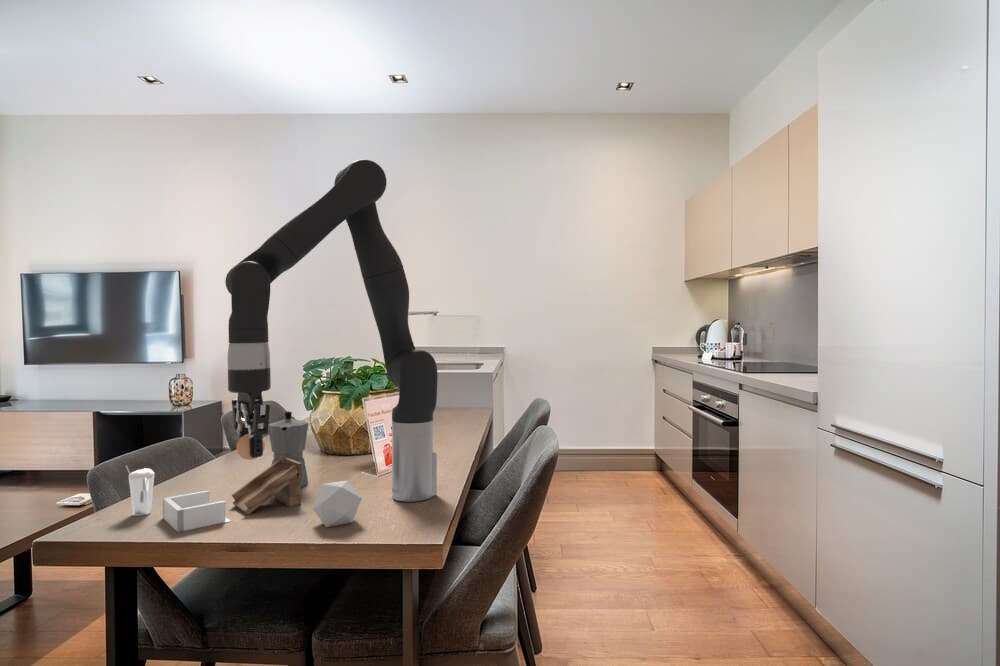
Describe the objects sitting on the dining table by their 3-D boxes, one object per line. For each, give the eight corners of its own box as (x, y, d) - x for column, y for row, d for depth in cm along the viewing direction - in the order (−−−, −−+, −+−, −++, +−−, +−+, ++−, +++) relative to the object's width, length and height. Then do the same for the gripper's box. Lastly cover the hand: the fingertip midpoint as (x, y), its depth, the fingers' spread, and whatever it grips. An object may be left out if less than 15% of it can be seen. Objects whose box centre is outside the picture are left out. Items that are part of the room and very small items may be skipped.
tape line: (212, 508, 121) (212, 507, 121) (231, 521, 113) (231, 520, 113) (206, 509, 121) (206, 508, 121) (224, 522, 112) (224, 522, 112)
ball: (259, 455, 114) (259, 430, 114) (269, 459, 110) (268, 433, 110) (233, 459, 110) (232, 433, 110) (242, 463, 107) (241, 437, 107)
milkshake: (132, 510, 120) (132, 462, 120) (159, 510, 120) (159, 462, 120) (119, 517, 115) (119, 468, 115) (147, 517, 115) (147, 467, 116)
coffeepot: (305, 491, 134) (305, 414, 134) (262, 493, 132) (262, 415, 132) (312, 475, 149) (312, 406, 149) (274, 477, 147) (274, 407, 147)
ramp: (286, 495, 130) (286, 457, 130) (301, 503, 124) (301, 463, 124) (231, 506, 122) (231, 465, 122) (244, 515, 116) (244, 472, 116)
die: (353, 516, 118) (325, 479, 117) (377, 502, 113) (347, 464, 113) (327, 542, 111) (296, 503, 110) (350, 529, 106) (318, 488, 106)
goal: (208, 509, 120) (208, 490, 120) (225, 522, 112) (225, 501, 112) (162, 518, 115) (162, 498, 115) (177, 532, 107) (177, 510, 107)
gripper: (283, 366, 107) (285, 457, 108) (255, 364, 118) (257, 446, 118) (241, 369, 102) (243, 464, 103) (216, 366, 113) (218, 452, 113)
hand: (251, 454), depth 110 cm, fingers closed on ball, 5 cm apart
